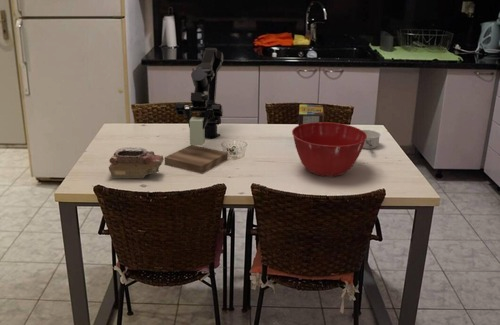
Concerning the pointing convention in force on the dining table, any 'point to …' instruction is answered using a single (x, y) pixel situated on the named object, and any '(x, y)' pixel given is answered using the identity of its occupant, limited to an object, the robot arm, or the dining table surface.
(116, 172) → the decorative box
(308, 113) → the protein box
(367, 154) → the dining table surface
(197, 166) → the walnut base
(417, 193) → the dining table surface
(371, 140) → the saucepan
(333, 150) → the mixing bowl
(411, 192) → the dining table surface
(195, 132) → the sage block
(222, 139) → the dining table surface
